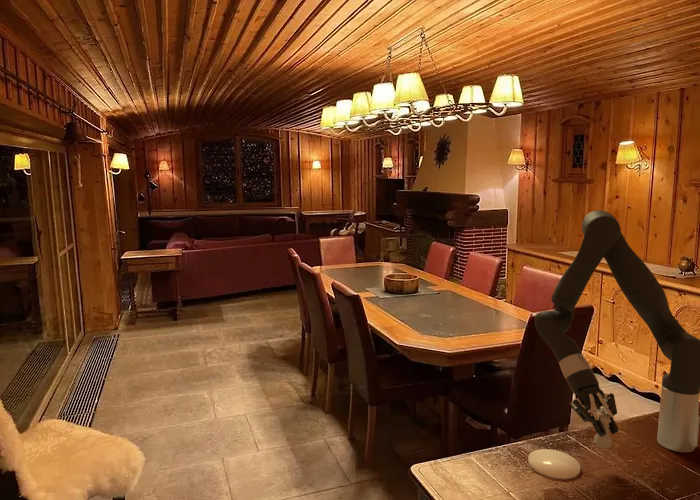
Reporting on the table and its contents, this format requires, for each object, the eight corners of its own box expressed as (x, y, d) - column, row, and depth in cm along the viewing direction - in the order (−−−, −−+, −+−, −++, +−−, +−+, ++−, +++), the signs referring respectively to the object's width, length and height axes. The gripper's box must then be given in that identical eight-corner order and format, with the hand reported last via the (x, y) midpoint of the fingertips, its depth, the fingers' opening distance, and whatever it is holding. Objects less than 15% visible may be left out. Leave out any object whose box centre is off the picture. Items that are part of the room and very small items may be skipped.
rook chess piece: (614, 449, 133) (615, 421, 132) (596, 448, 134) (597, 419, 133) (609, 440, 137) (610, 413, 136) (591, 439, 138) (593, 412, 137)
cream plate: (557, 449, 144) (557, 446, 144) (591, 474, 132) (591, 470, 132) (518, 456, 141) (518, 453, 140) (550, 483, 128) (550, 479, 128)
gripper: (564, 371, 138) (596, 434, 128) (606, 364, 142) (639, 425, 132) (550, 382, 144) (580, 443, 134) (591, 375, 148) (622, 434, 138)
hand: (609, 433), depth 133 cm, fingers closed on rook chess piece, 3 cm apart
